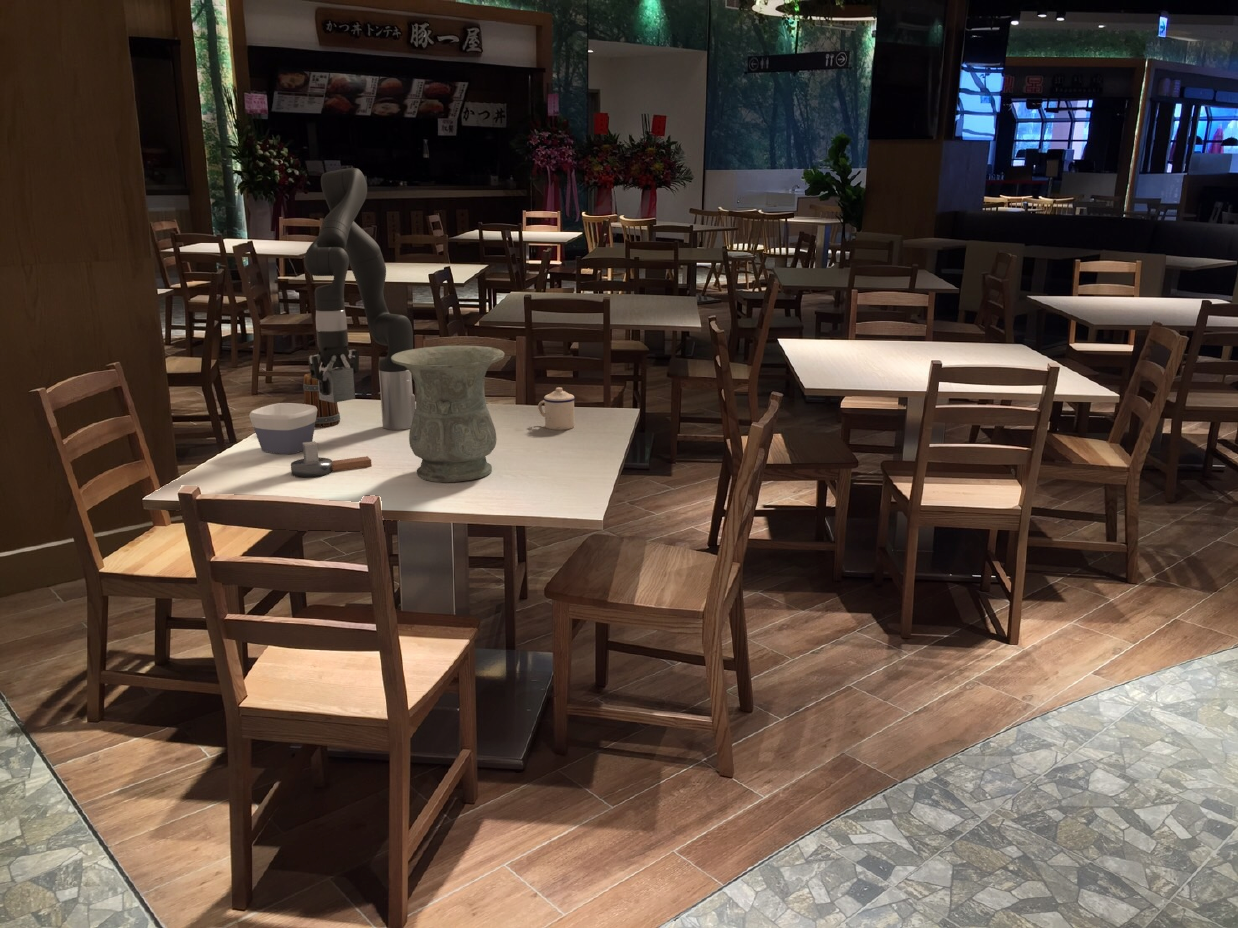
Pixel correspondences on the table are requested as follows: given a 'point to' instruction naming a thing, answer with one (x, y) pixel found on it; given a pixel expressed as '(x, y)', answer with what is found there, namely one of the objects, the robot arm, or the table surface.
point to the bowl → (284, 426)
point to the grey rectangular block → (339, 385)
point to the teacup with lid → (558, 410)
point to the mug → (320, 404)
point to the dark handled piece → (323, 463)
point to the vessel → (451, 411)
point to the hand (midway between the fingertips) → (336, 392)
